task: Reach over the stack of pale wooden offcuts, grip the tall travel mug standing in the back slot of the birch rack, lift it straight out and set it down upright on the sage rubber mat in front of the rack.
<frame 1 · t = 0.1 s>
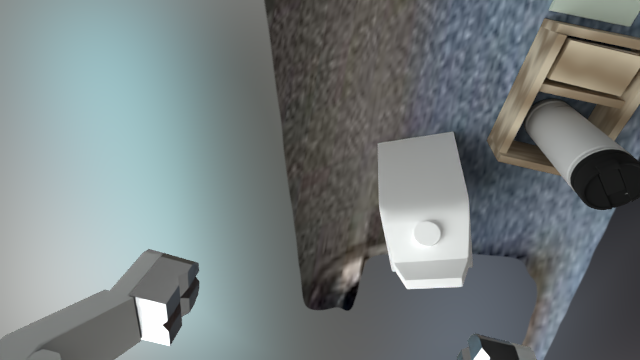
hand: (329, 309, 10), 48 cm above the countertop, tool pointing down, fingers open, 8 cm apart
offcut top: (588, 65, 45), point 3 cm above the countertop, touching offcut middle
birch rack: (558, 95, 51), on the countertop
travel mug: (545, 117, 53), on the countertop
milk: (418, 167, 61), on the countertop
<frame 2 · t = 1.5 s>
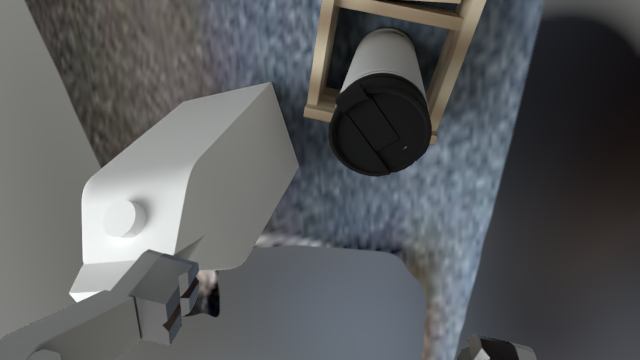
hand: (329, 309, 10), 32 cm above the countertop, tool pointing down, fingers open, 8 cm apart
birch rack: (392, 21, 36), on the countertop
travel mug: (383, 56, 38), on the countertop
milk: (243, 134, 46), on the countertop
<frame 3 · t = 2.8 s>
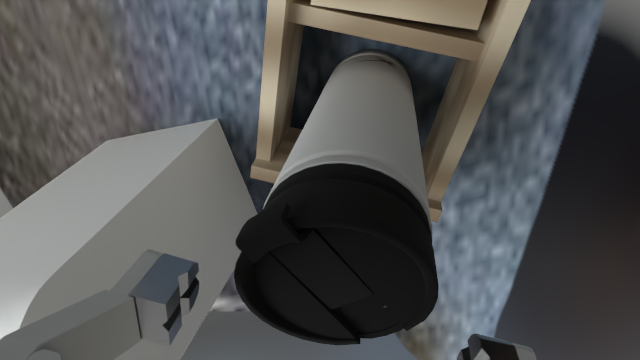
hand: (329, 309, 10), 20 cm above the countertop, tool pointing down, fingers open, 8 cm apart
birch rack: (379, 41, 25), on the countertop
travel mug: (367, 88, 27), on the countertop
milk: (187, 182, 35), on the countertop
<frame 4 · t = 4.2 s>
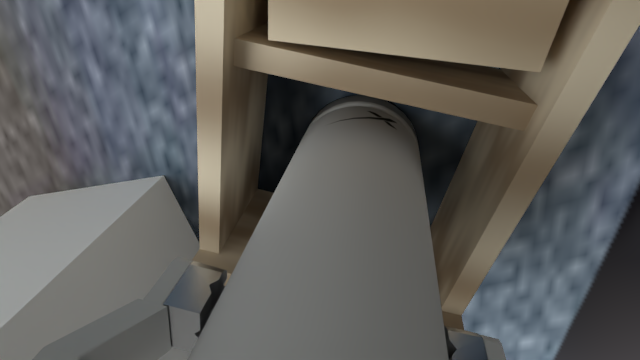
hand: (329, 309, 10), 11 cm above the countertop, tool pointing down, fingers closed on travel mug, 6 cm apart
birch rack: (374, 85, 18), on the countertop
travel mug: (358, 144, 20), on the countertop, touching gripper
milk: (134, 247, 28), on the countertop
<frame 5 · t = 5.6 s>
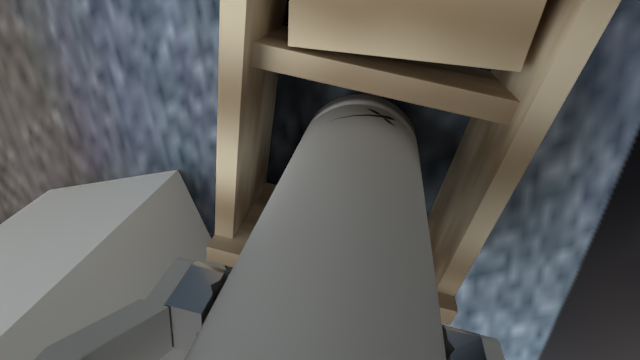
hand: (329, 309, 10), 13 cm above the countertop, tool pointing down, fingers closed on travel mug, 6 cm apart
birch rack: (375, 85, 20), on the countertop
travel mug: (358, 142, 20), point 1 cm above the countertop, touching gripper
milk: (146, 238, 29), on the countertop
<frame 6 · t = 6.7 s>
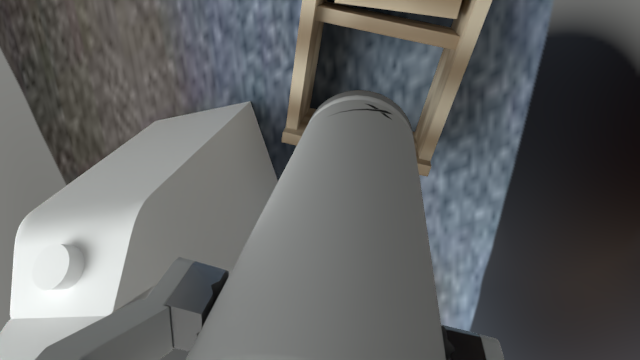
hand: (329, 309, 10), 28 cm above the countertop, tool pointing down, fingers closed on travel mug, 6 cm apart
birch rack: (382, 38, 32), on the countertop
travel mug: (357, 137, 21), point 15 cm above the countertop, touching gripper
milk: (221, 157, 42), on the countertop
when the fingers open (13 cm above the countertop, at t = 12.4 s): travel mug stays where it is, resting on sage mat.
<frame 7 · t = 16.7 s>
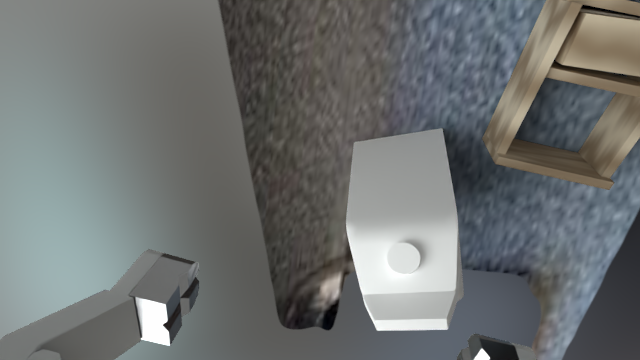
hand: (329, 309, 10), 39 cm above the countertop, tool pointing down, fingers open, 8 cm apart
offcut top: (611, 43, 36), point 3 cm above the countertop, touching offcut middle
birch rack: (568, 83, 42), on the countertop
milk: (402, 170, 52), on the countertop
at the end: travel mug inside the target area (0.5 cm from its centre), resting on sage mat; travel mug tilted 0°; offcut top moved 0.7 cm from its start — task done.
